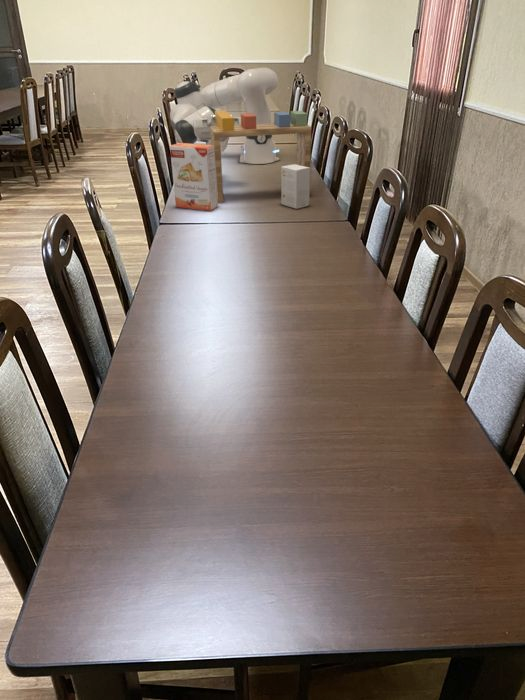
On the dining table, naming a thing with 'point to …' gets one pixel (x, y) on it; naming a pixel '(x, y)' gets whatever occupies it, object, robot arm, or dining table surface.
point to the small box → (295, 186)
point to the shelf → (261, 129)
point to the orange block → (224, 120)
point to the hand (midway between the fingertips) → (221, 116)
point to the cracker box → (194, 176)
